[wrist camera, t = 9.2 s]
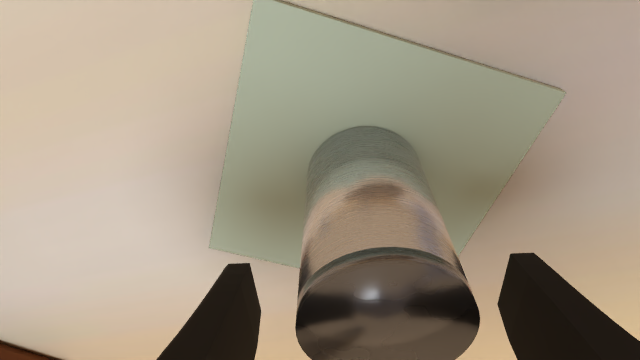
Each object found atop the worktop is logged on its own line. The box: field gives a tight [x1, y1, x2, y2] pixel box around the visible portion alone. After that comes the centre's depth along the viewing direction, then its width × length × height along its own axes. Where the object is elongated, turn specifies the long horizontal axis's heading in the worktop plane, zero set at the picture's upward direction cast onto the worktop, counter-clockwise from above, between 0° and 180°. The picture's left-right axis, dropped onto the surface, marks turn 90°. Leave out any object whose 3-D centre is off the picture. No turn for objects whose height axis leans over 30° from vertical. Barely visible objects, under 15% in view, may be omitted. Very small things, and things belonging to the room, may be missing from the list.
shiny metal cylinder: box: [295, 126, 480, 360], centre depth 13 cm, size 4×4×7 cm
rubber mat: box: [209, 0, 566, 268], centre depth 16 cm, size 11×11×1 cm
